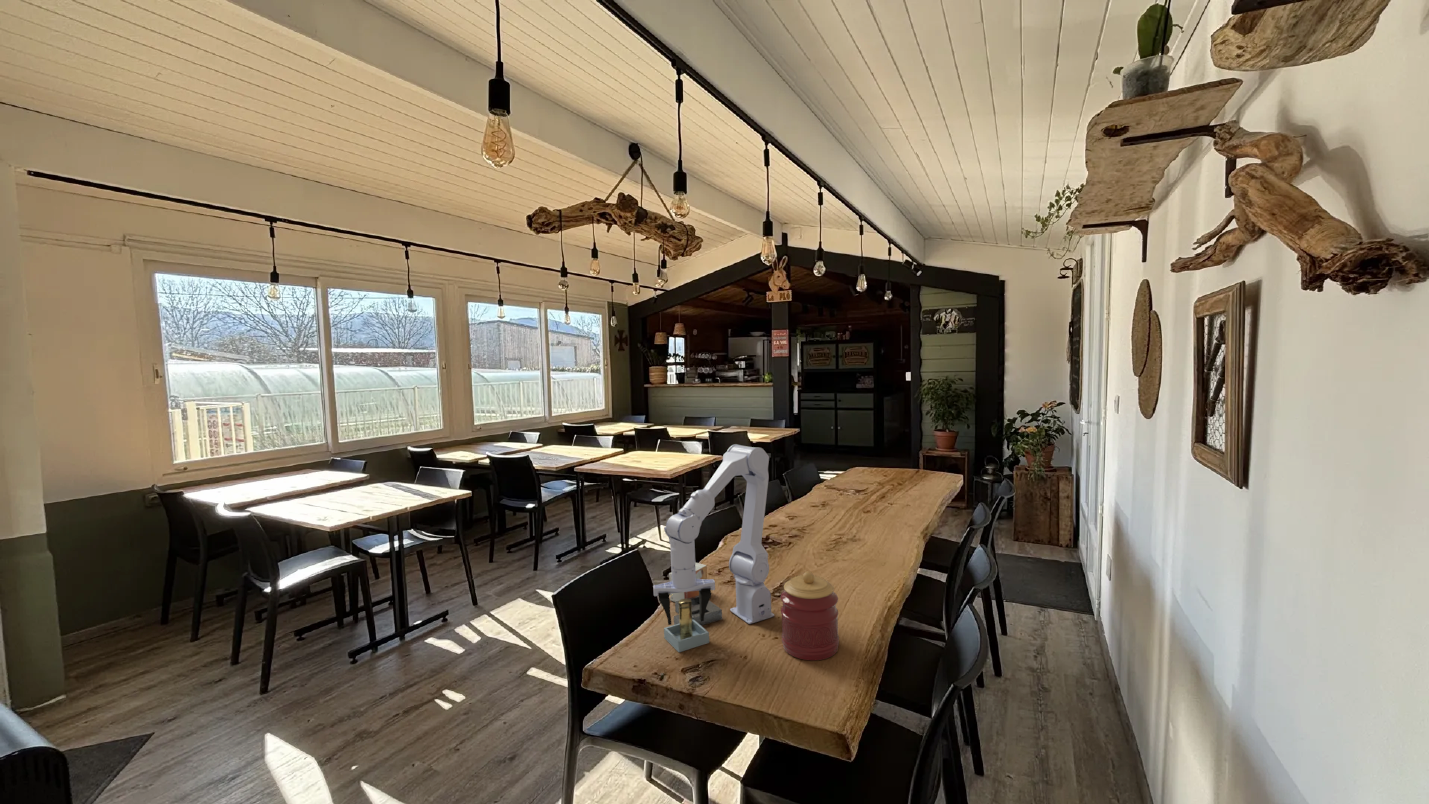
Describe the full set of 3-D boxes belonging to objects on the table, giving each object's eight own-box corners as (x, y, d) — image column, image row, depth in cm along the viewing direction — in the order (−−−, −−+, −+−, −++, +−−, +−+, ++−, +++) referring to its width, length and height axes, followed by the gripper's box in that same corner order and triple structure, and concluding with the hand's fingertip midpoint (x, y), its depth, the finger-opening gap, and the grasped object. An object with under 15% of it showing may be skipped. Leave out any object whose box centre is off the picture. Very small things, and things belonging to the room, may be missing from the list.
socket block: (722, 619, 143) (721, 609, 143) (694, 627, 139) (694, 617, 139) (701, 603, 153) (701, 594, 152) (675, 611, 149) (675, 601, 149)
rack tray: (709, 642, 132) (708, 632, 131) (678, 652, 128) (678, 641, 127) (693, 629, 138) (693, 619, 138) (664, 637, 135) (663, 628, 134)
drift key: (704, 623, 141) (703, 614, 141) (679, 631, 138) (679, 621, 137) (698, 619, 144) (697, 609, 144) (674, 626, 140) (673, 616, 140)
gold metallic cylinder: (694, 634, 134) (692, 598, 134) (691, 641, 131) (690, 604, 131) (681, 634, 135) (680, 598, 134) (678, 640, 132) (677, 604, 131)
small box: (708, 591, 160) (685, 605, 152) (693, 587, 164) (669, 601, 155) (707, 564, 160) (683, 577, 151) (692, 560, 163) (668, 573, 155)
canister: (800, 627, 137) (798, 557, 136) (849, 643, 129) (847, 569, 128) (770, 650, 127) (768, 575, 126) (821, 668, 119) (819, 588, 118)
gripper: (711, 556, 137) (713, 610, 138) (651, 562, 134) (654, 617, 135) (715, 567, 130) (717, 623, 131) (653, 573, 128) (655, 630, 129)
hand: (685, 621), depth 133 cm, fingers open, 7 cm apart
